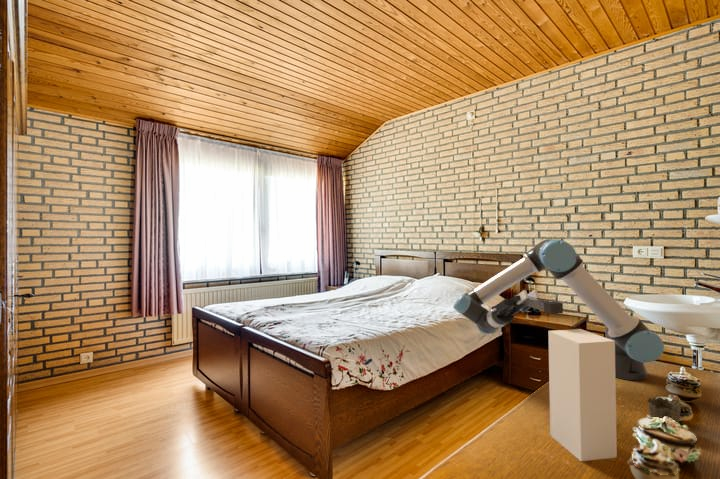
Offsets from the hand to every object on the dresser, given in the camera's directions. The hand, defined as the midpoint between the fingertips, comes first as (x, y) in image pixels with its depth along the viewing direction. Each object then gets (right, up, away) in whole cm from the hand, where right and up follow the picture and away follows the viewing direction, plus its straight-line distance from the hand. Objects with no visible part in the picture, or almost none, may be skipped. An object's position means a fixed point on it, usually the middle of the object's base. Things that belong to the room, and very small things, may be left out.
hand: (531, 293), depth 119 cm
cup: (+32, -38, -14) cm, 51 cm away
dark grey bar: (0, -4, -2) cm, 5 cm away
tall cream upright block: (+4, -38, -21) cm, 44 cm away
